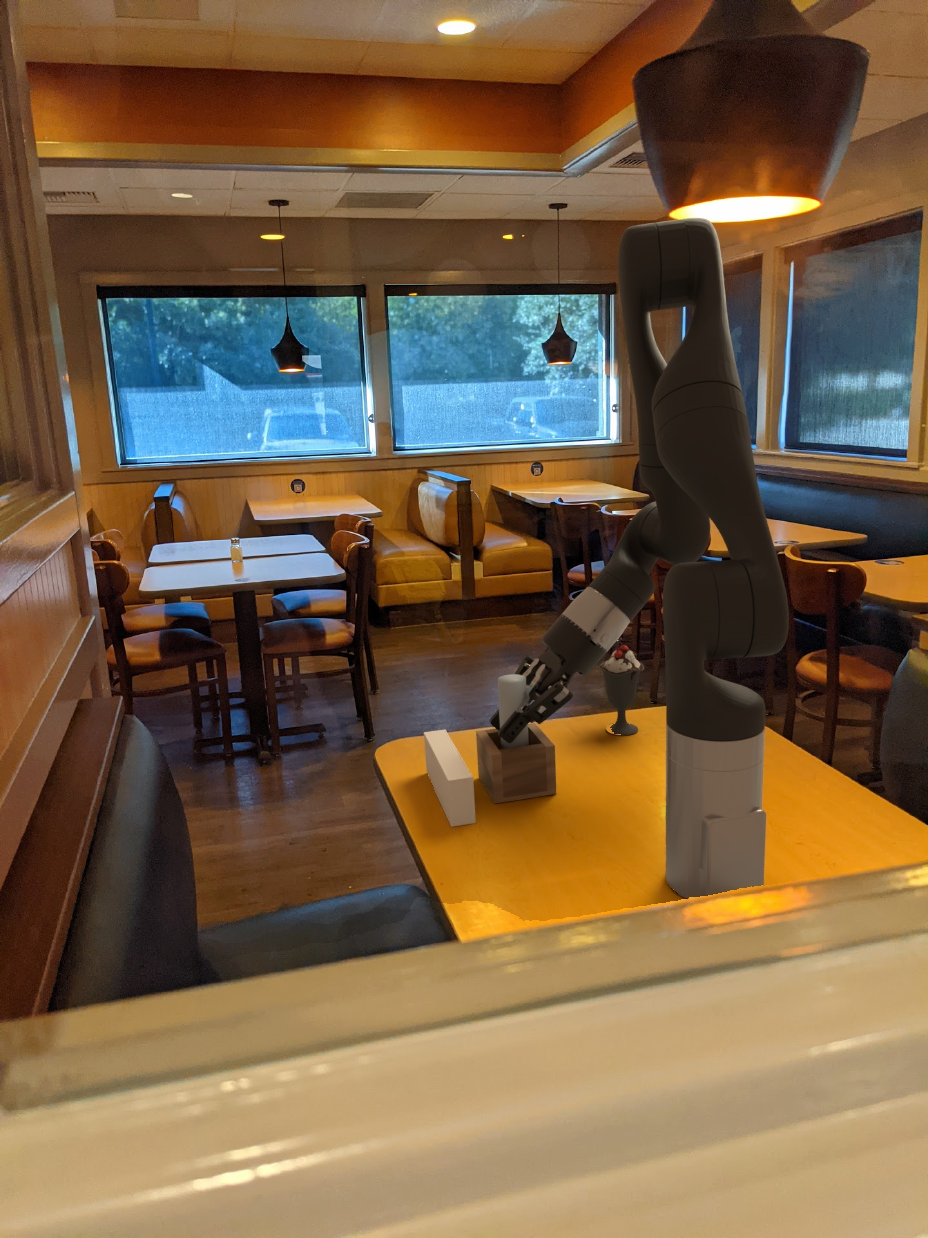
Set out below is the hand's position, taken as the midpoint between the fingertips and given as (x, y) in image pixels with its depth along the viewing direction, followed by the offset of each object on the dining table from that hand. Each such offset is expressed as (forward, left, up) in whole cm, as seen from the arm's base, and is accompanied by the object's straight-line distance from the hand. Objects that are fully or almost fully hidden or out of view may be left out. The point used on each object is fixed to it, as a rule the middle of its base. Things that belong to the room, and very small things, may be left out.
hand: (499, 732), depth 107 cm
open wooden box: (0, -2, -8) cm, 8 cm away
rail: (0, +7, -8) cm, 11 cm away
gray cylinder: (0, -2, -5) cm, 5 cm away
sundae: (+13, -22, -8) cm, 27 cm away
